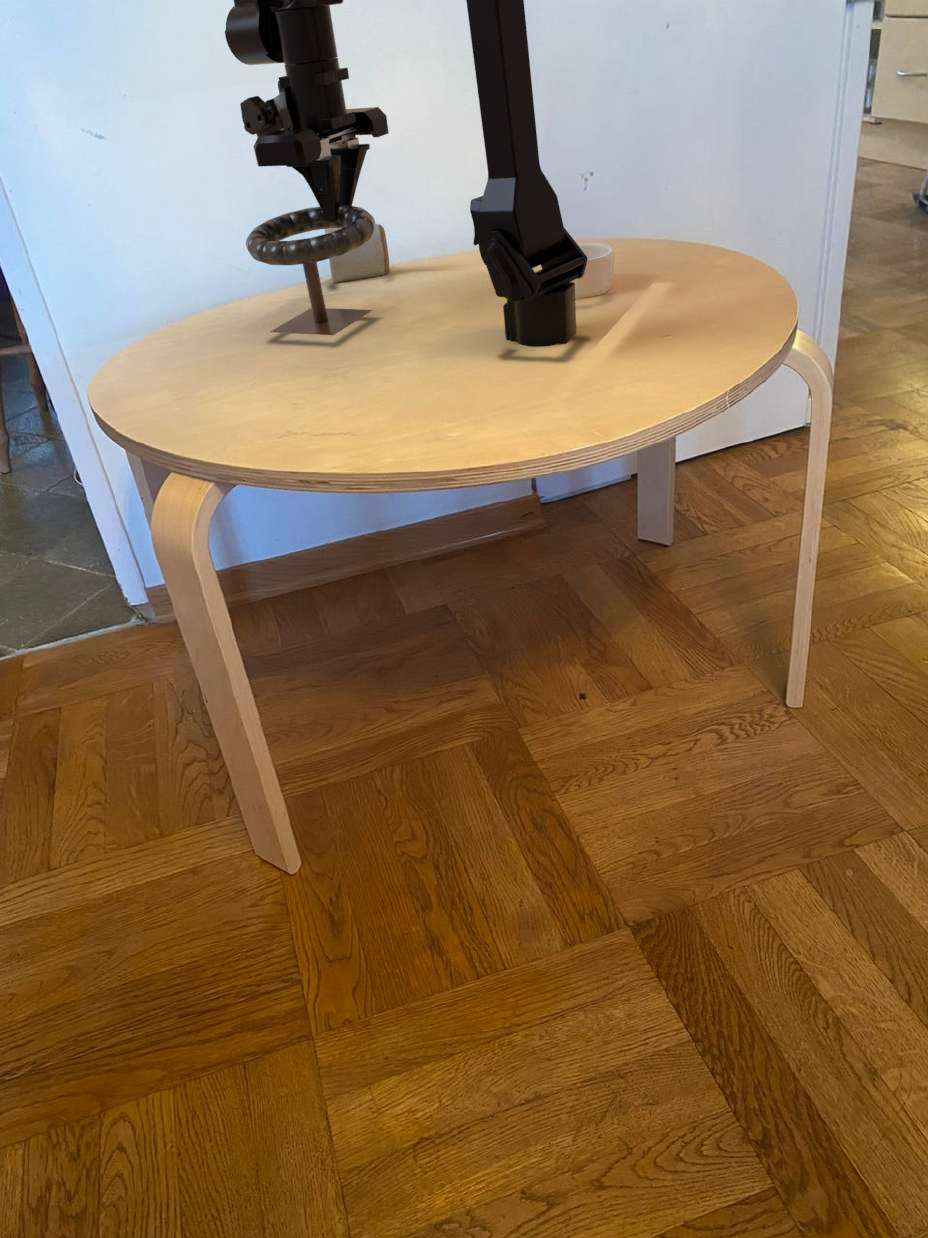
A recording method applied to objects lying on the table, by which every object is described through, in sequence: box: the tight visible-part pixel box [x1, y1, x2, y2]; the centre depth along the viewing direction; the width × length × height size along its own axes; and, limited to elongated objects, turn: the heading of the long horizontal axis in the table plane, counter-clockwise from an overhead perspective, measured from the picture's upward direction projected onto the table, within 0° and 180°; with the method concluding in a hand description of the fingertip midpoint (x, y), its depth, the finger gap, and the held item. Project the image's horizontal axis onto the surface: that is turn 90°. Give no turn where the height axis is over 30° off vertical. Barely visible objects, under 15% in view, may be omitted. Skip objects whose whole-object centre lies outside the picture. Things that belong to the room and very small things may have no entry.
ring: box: [245, 205, 376, 266], centre depth 97 cm, size 14×14×2 cm
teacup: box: [571, 242, 615, 300], centre depth 102 cm, size 10×8×5 cm
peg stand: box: [269, 262, 373, 336], centre depth 101 cm, size 9×9×8 cm
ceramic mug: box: [323, 223, 391, 284], centre depth 119 cm, size 11×8×8 cm
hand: (338, 219), depth 101 cm, fingers closed on ring, 2 cm apart
